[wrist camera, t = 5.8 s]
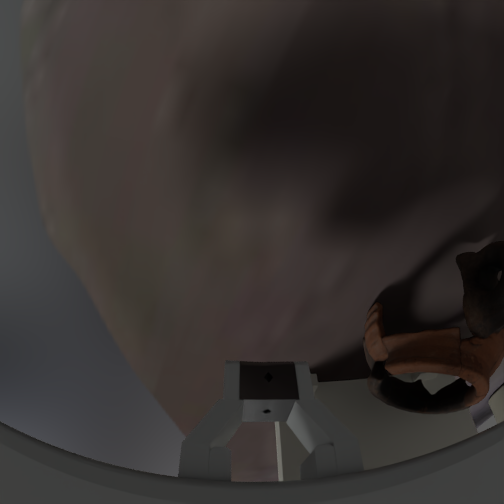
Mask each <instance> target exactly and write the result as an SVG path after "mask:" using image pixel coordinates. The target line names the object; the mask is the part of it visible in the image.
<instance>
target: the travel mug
mask: <svg viewBox="0 0 504 504" xmlns="http://www.w3.org/2000/svg"><path fill="white" fill-rule="evenodd" d="M488 403H489V405H490V408H491V410H492V412H493V415H494V417H495V419H496V422H497V424H499V423H501V422H502V421H504V384H503V385H502V386H500V387H499V388H498V389H497V390H496V391H495V392H494V394H493V395H492V396H491V398H490V400H489V402H488Z"/></svg>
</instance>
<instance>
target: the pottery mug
mask: <svg viewBox="0 0 504 504" xmlns="http://www.w3.org/2000/svg"><path fill="white" fill-rule="evenodd" d="M456 263H457V265H458V267H459V269H460V271H461V276H462V280H463V287H464V296H463V310H464V313H465V320H466V323H467V326H468V328H469V330H470V331H471V332H472V335H475V336H473V337H470V338H466V339H461V337H460V328H459V327H452V328H446V329H428V330H423V331H421V332H417V333H398V334H392V335H389V336H386V334H385V331H384V328H383V315H382V314H383V306H382V305H381V304H380V303H379V302H376V303H375V304H374V305H373V306H372V307H371V309H370V310H369V311H368V314H367V322H366V324H365V330H366V331H365V337H364V338H363V347H364V351H365V356H366V360H367V363H368V365H369V367H370V369H371V373H370V375H369V376H368V378H367V386H368V388H369V391H370V392H371V394H372V395H373V396H375V397H376V398H377V399H380V400H381V401H382V402H384V403H386V404H387V405H389V406H393V407H395V408H397V409H400V410H404V411H408V412H413V413H421V414H433V415H435V414H447V413H452V412H457V411H461V410H464V409H467V408H469V407H470V406H472V405H475V404H477V403H478V402H480V401H481V400H482V399H484V397H485V396H486V395H487V393H488V391H489V378H490V377H491V376H492V375H493V373H494V372H495V370H496V369H497V368H498V367H499V365H500V363H501V362H502V359H503V357H504V241H498V242H494V243H491V244H489V245H487V246H486V247H484V248H483V249H481V250H480V251H479V252H477V253H474V252H466V253H462V254H460V255H458V256H457V257H456ZM501 270H502V275H501V279H500V281H499V280H498V278H497V275H498V272H499V271H501ZM387 358H388V359H387ZM386 359H387V361H386V364H385V368H384V364H383V361H385V360H386ZM385 369H386V370H387V371H389V372H390V373H391V374H392V375H398V374H404V373H415V372H426V373H439V374H445V375H453V376H459V377H460V378H459V379H457V380H455V381H454V382H453V383H451V384H449V385H447V386H445V387H443V388H441V389H440V390H439V391H437V392H436V393H435V394H430V393H429V391H428V390H427V389H426V388H425V387H424V386H423V383H422V380H421V379H419V380H416V381H415V382H404V381H402V380H400V379H398V378H396V377H393V376H388V374H387V372H386V371H385ZM466 380H467V381H468V382H470V383H471V384H472V385H471V386H468V385H467V384H466V383H465V382H466Z"/></svg>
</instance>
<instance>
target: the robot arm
mask: <svg viewBox="0 0 504 504" xmlns="http://www.w3.org/2000/svg"><path fill="white" fill-rule="evenodd" d="M260 421H269V422H286V423H287V424H288V426H289V427H290V428H291V430H292V431H293V432H294V434H295V435H296V436H297V438H298V439H299V440H300V442H301V443H302V444H303V446H304V447H305V448H306V449H307V451H308V452H309V453H310V455H309V456H308V457H307V458H306V460H305V461H304V462H303V463H302V464H301V465H300V466H299V467H300V479H301V480H291V481H272V482H231V450H230V449H228V448H227V447H225V446H226V445H227V443H228V442H229V440H230V439H231V438H232V436H233V435H234V433H235V432H236V430H237V429H238V427H239V426H240V425H241V423H242V422H260ZM0 504H504V421H502V422H501V423H499V424H497V425H495V426H493V427H491V428H489V429H487V430H485V431H483V432H480V433H478V434H476V435H474V436H472V437H469V438H467V439H465V440H462V441H460V442H457V443H455V444H452V445H450V446H447V447H445V448H442V449H439V450H436V451H434V452H431V453H428V454H425V455H422V456H419V457H415V458H412V459H409V460H405V461H402V462H398V463H394V464H391V465H387V466H382V467H378V468H374V469H369V470H364V467H363V462H362V457H361V452H360V447H359V442H358V439H357V438H356V437H355V436H354V435H353V434H352V433H351V432H350V431H349V430H348V429H347V428H346V427H345V426H344V425H343V424H342V423H341V422H340V421H339V420H338V419H337V418H336V417H335V416H334V415H333V413H332V412H331V411H330V410H329V409H328V408H327V407H326V406H325V405H324V404H323V403H322V402H321V401H320V400H319V399H315V397H314V392H313V386H312V380H311V374H310V369H309V364H308V362H306V361H305V362H293V361H292V362H247V361H240V362H239V361H228V360H226V362H225V372H224V392H223V399H219V400H218V401H217V402H216V403H215V405H214V406H213V407H212V408H211V409H210V411H209V412H208V413H207V414H206V415H205V417H204V418H203V419H202V420H201V421H200V422H199V424H198V425H197V426H196V427H195V428H194V429H193V431H192V432H191V433H190V434H189V435H188V436H187V437H186V439H185V440H184V441H183V442H182V446H181V455H180V464H179V474H178V477H173V476H167V475H160V474H154V473H149V472H143V471H138V470H134V469H129V468H125V467H120V466H116V465H112V464H109V463H105V462H101V461H97V460H94V459H91V458H87V457H84V456H81V455H78V454H75V453H72V452H69V451H66V450H64V449H61V448H58V447H55V446H53V445H50V444H48V443H45V442H43V441H41V440H38V439H36V438H34V437H31V436H29V435H27V434H25V433H23V432H20V431H18V430H16V429H14V428H12V427H10V426H8V425H6V424H4V423H2V422H1V421H0Z"/></svg>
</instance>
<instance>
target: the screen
mask: <svg viewBox="0 0 504 504" xmlns="http://www.w3.org/2000/svg"><path fill="white" fill-rule="evenodd" d="M392 376H393V377H396V378H398V379H400V380H402V381H404V382H415V381H416V380H419V379H421V380H422V383H423V386H424V387H425V388H426V389H427V390H428V391H429V393H430V394H435V393H436V392H437V391H439V390H440V389H441V388H443V387H445V386H447V385H449V384H451V383H453V382H454V381H455V380H456V379H455V377H454V376H453V375H445V374H439V373H426V372H415V373H406V374H400V375H392ZM311 380H312V386H313V392H314V397H315V399H319V400H320V401H321V402H322V403H323V404H324V405H325V406H326V407H327V408H328V409H329V410H330V411H331V412H332V413H333V415H334V416H335V417H336V418H337V419H338V420H339V421H340V422H341V423H342V424H343V425H344V426H345V427H346V428H347V429H348V430H349V431H350V432H351V433H352V434H353V435H354V436H355V437H356V438H357V439H358V442H359V447H360V452H361V457H362V462H363V467H364V470H369V469H374V468H378V467H382V466H387V465H391V464H394V463H398V462H402V461H405V460H409V459H412V458H415V457H419V456H422V455H425V454H428V453H431V452H434V451H436V450H439V449H442V448H445V447H447V446H450V445H452V444H455V443H457V442H460V441H462V440H465V439H467V438H469V437H472V436H474V435H476V434H478V432H477V429H476V426H475V424H474V421H473V418H472V416H471V413H470V411H469V408H467V409H464V410H461V411H457V412H452V413H447V414H435V415H433V414H421V413H413V412H408V411H404V410H400V409H397V408H395V407H393V406H389V405H387V404H386V403H384V402H382V401H381V400H380V399H377V398H376V397H375V396H373V395H372V394H371V392H370V391H369V388H368V386H367V379H357V380H345V381H331V382H318V379H317V374H311ZM275 429H276V444H277V459H278V475H279V481H291V480H301V479H300V467H299V466H300V465H301V464H302V463H303V462H304V461H305V460H306V458H307V457H308V456H309V455H310V453H309V452H308V451H307V449H306V448H305V447H304V446H303V444H302V443H301V442H300V440H299V439H298V438H297V436H296V435H295V434H294V432H293V431H292V430H291V428H290V427H289V426H288V424H287V423H286V422H275Z"/></svg>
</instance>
